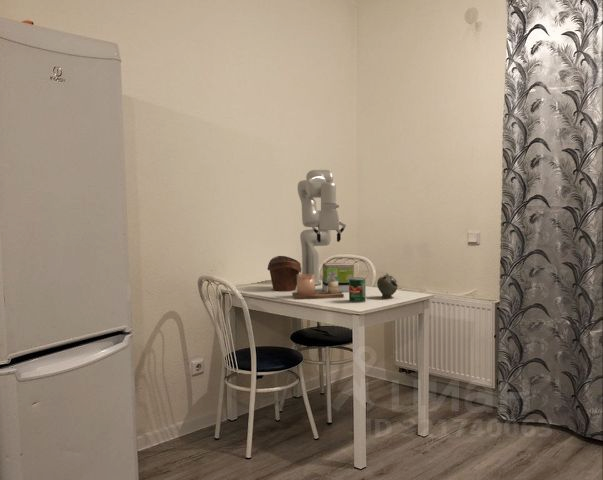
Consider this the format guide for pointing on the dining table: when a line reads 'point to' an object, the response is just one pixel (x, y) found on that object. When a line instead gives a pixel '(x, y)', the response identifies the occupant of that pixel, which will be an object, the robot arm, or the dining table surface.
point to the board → (318, 295)
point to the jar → (305, 284)
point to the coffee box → (337, 275)
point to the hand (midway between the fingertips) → (328, 241)
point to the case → (284, 273)
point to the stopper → (333, 286)
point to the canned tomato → (357, 290)
